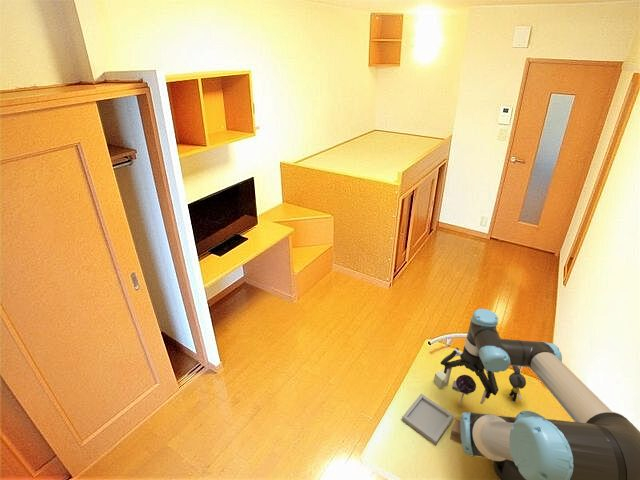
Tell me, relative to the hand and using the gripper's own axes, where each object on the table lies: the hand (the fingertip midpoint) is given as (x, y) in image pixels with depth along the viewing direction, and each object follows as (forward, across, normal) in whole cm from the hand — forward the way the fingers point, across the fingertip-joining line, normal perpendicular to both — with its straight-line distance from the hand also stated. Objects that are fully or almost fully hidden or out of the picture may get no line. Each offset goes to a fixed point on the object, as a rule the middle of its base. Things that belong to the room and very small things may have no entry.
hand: (464, 390), depth 129 cm
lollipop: (+8, 0, 0) cm, 8 cm away
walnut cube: (+8, -5, +12) cm, 15 cm away
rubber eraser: (+9, +3, -7) cm, 11 cm away
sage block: (+8, +10, -4) cm, 14 cm away
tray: (+8, +6, +14) cm, 17 cm away
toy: (+8, -13, -16) cm, 22 cm away
